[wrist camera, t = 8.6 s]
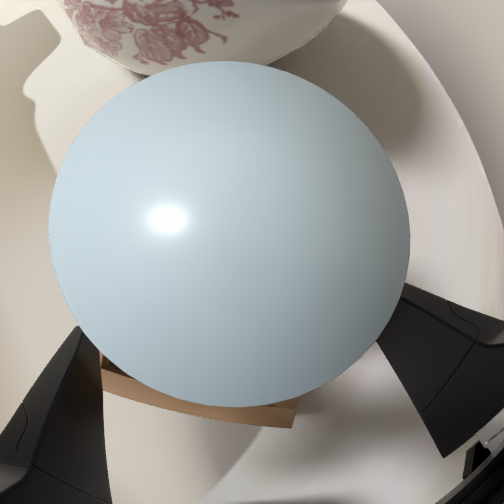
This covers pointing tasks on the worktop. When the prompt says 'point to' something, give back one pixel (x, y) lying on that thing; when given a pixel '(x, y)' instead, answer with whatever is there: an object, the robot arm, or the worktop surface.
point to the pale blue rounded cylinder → (229, 234)
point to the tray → (254, 415)
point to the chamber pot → (196, 29)
